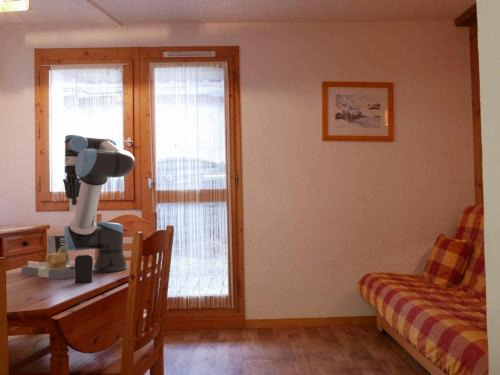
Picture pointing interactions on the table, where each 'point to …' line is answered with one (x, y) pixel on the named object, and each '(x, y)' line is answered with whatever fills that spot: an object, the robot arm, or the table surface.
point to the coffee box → (57, 246)
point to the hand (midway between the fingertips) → (72, 211)
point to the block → (55, 260)
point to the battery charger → (83, 268)
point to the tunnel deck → (48, 271)
